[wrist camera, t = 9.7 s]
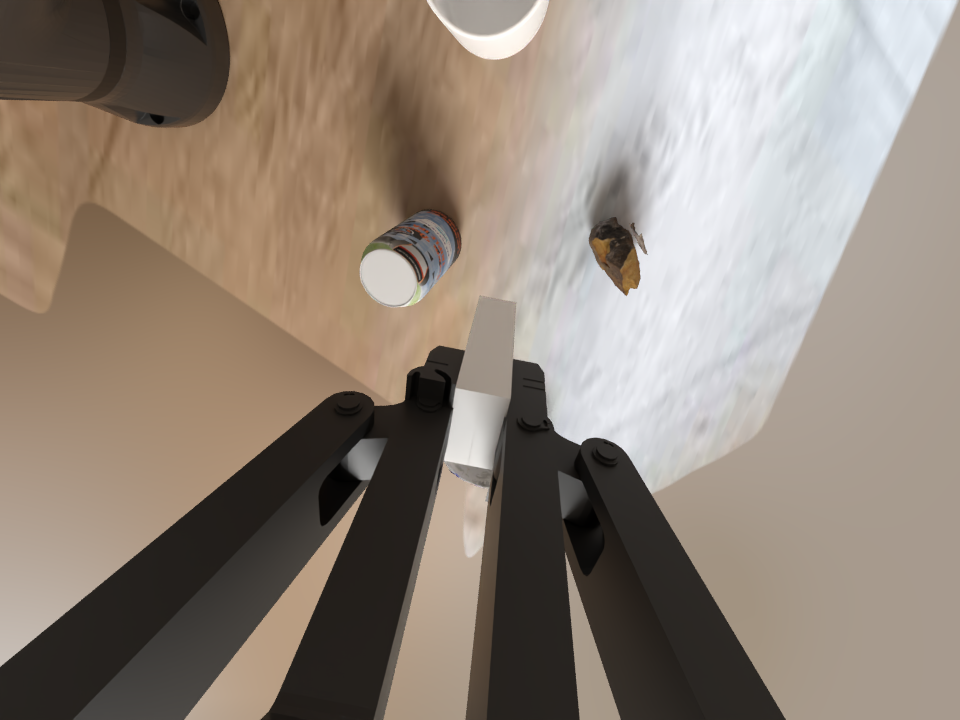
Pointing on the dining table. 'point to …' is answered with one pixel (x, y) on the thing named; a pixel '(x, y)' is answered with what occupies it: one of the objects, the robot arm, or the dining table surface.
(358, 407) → the robot arm
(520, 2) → the mug
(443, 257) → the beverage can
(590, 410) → the dining table surface
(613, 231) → the rock
